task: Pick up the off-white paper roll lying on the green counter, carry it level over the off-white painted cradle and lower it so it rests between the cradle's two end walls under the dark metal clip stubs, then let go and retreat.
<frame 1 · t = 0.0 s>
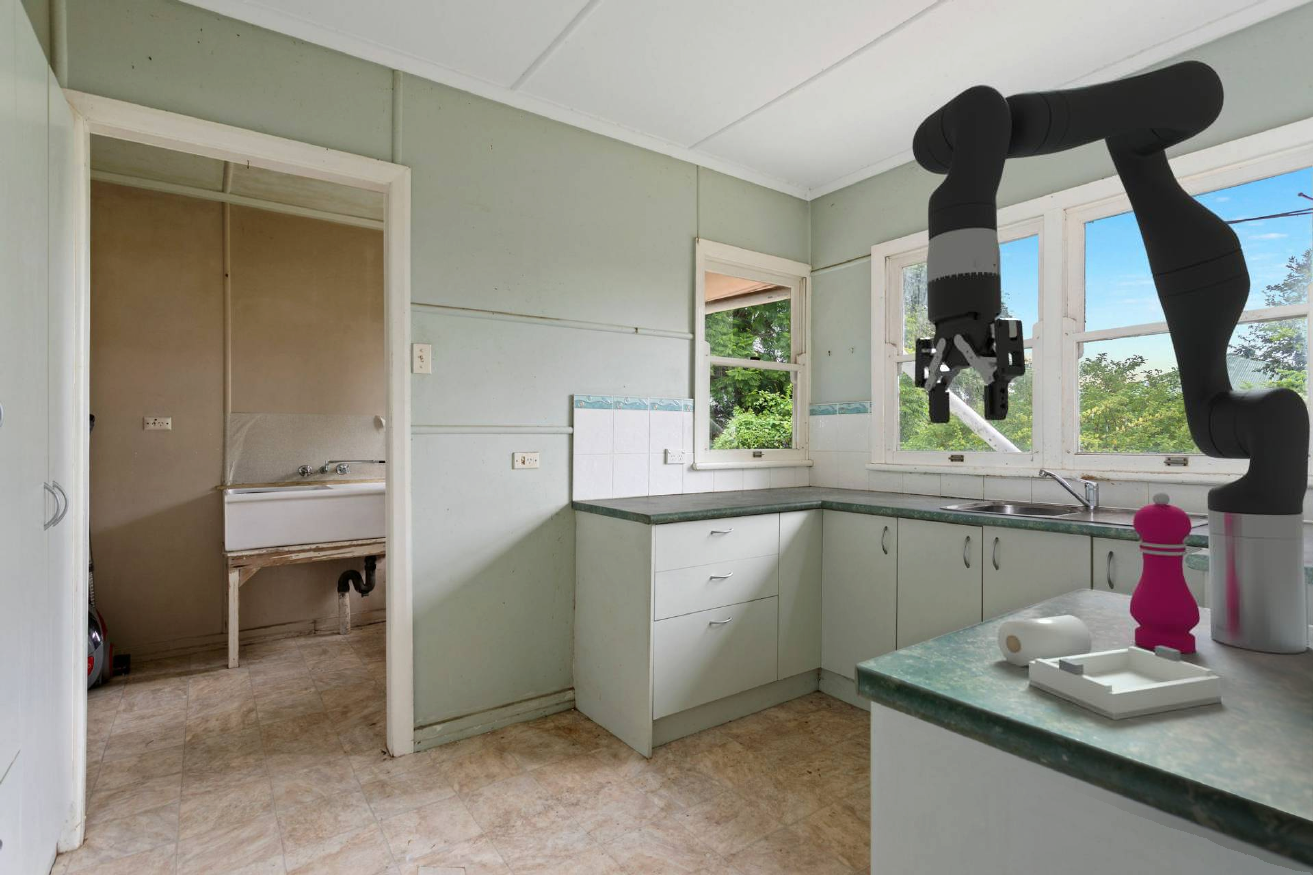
hand: (966, 421, 74), 29 cm above the counter, fingers open, 8 cm apart
holder: (1121, 692, 70), on the counter
pepper mill: (1164, 647, 85), on the counter
paper roll: (1044, 661, 81), on the counter
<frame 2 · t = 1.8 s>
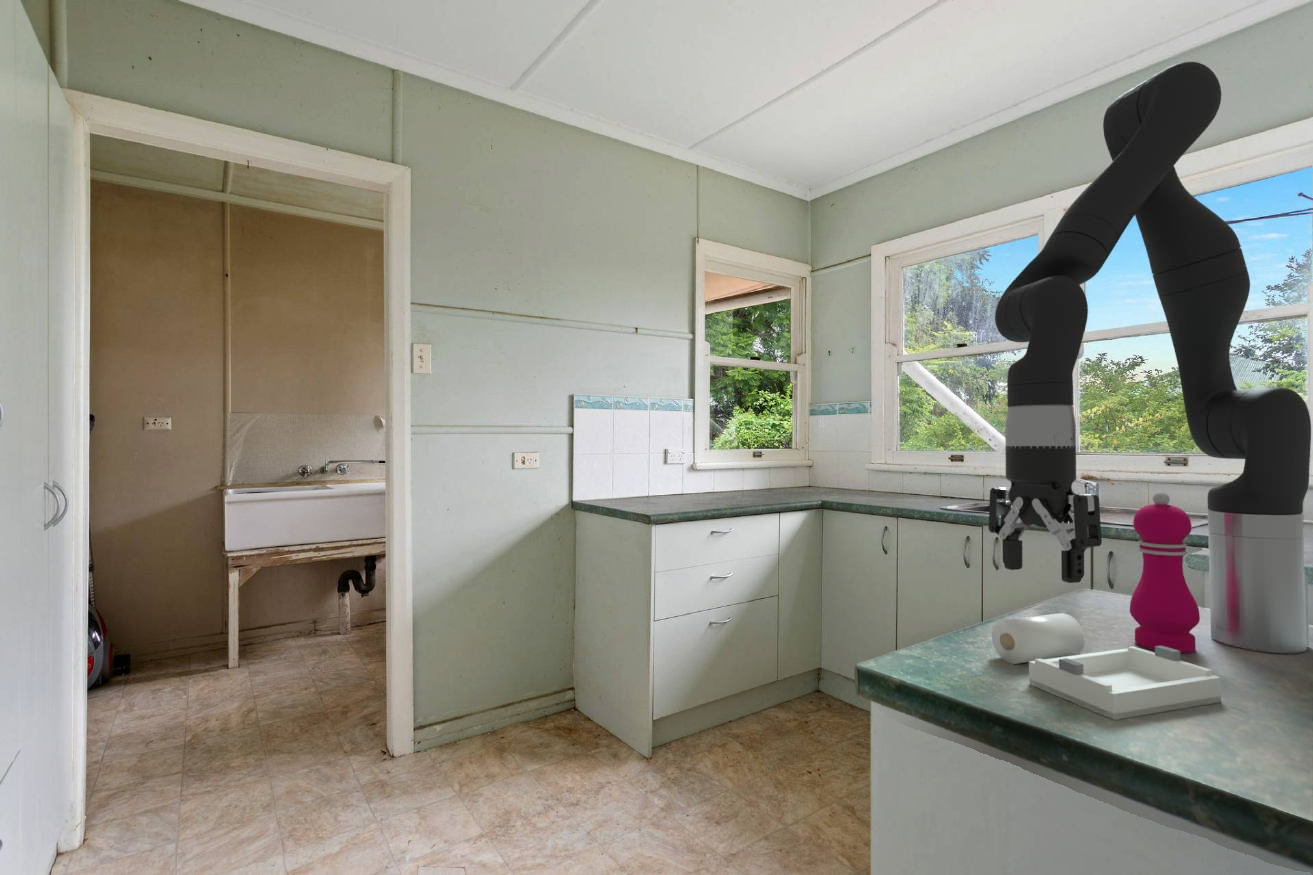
hand: (1040, 575, 81), 10 cm above the counter, fingers open, 8 cm apart
paper roll: (1044, 659, 81), on the counter, tilted 21°
everything else where it was.
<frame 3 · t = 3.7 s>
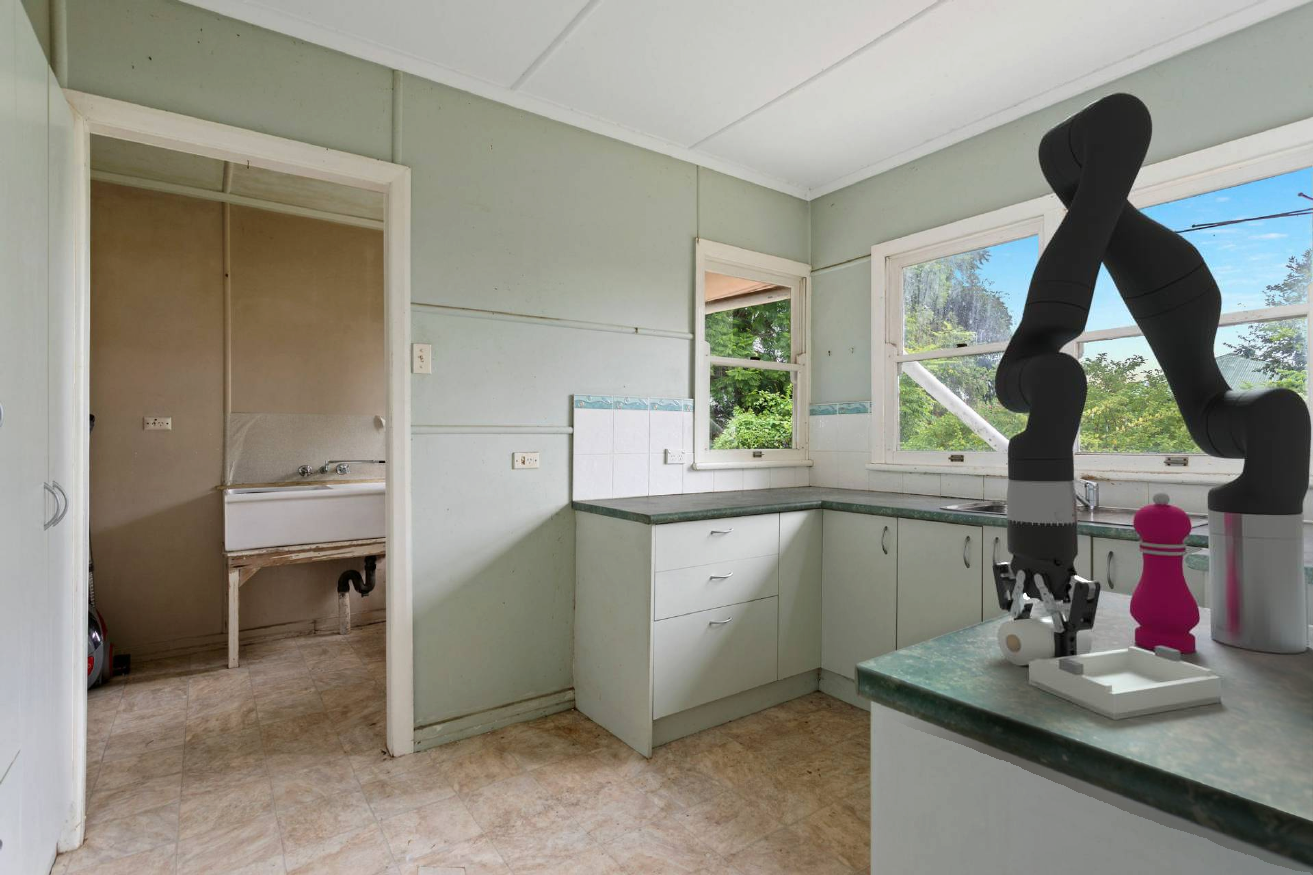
hand: (1044, 654, 81), 1 cm above the counter, fingers closed on paper roll, 5 cm apart
paper roll: (1044, 660, 81), on the counter, touching gripper
everything else where it was.
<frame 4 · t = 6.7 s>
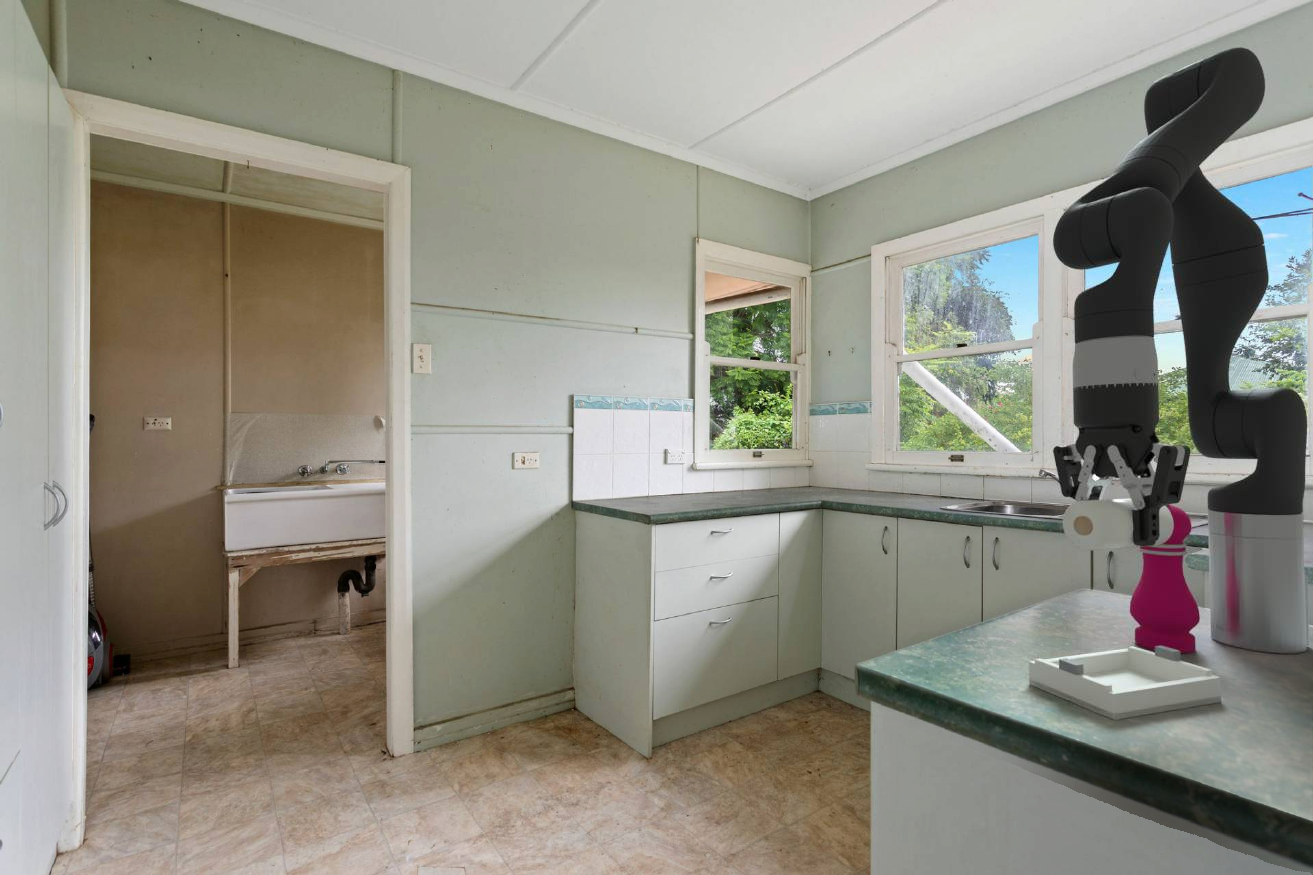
hand: (1117, 540, 70), 16 cm above the counter, fingers closed on paper roll, 5 cm apart
paper roll: (1118, 548, 70), point 15 cm above the counter, touching gripper
everything else where it was.
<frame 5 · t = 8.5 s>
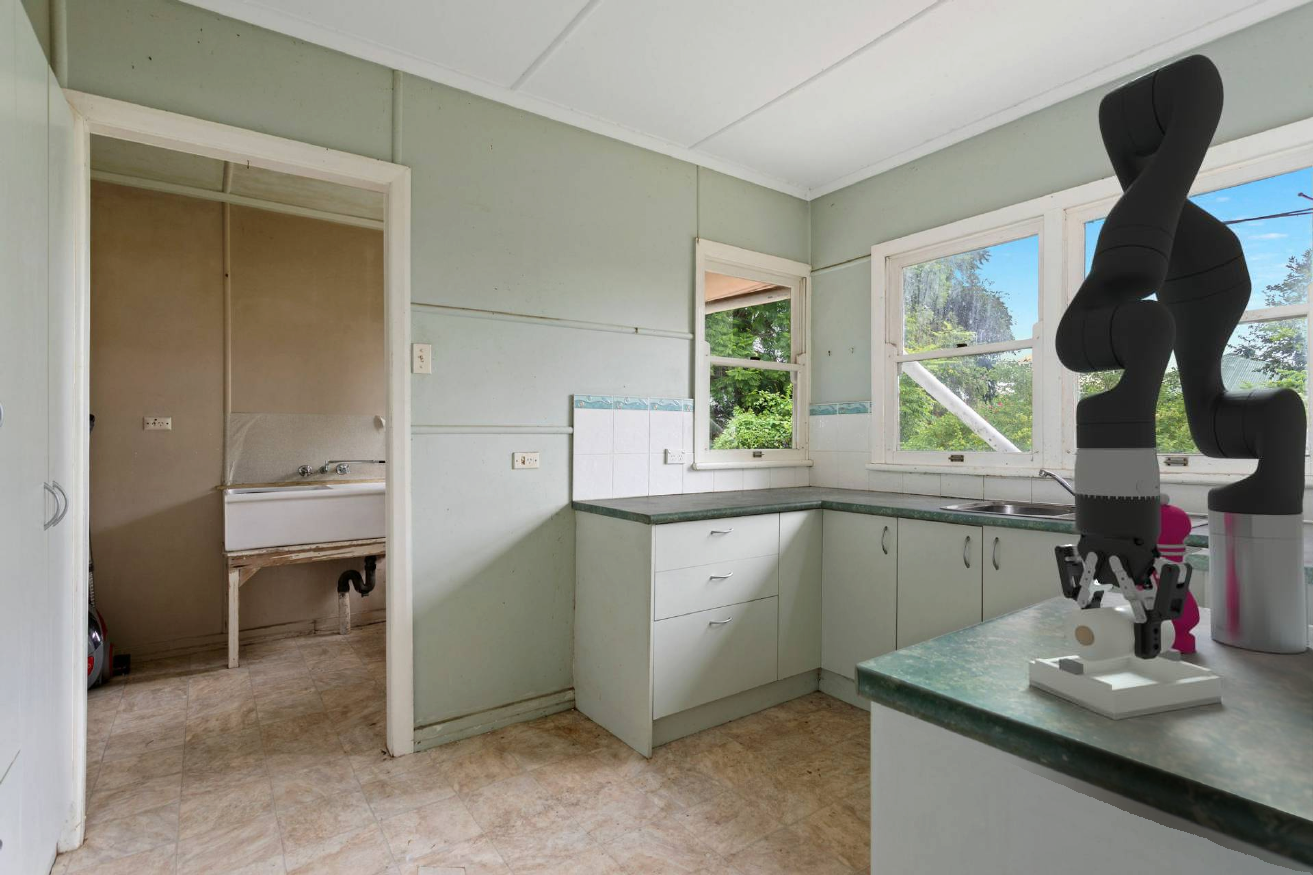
hand: (1119, 649, 70), 5 cm above the counter, fingers closed on paper roll, 5 cm apart
paper roll: (1119, 656, 70), point 4 cm above the counter, touching gripper
everything else where it was.
when the fingers open (3 cm above the counter, at t = 9.8 s): paper roll drops 2 cm, resting on holder.
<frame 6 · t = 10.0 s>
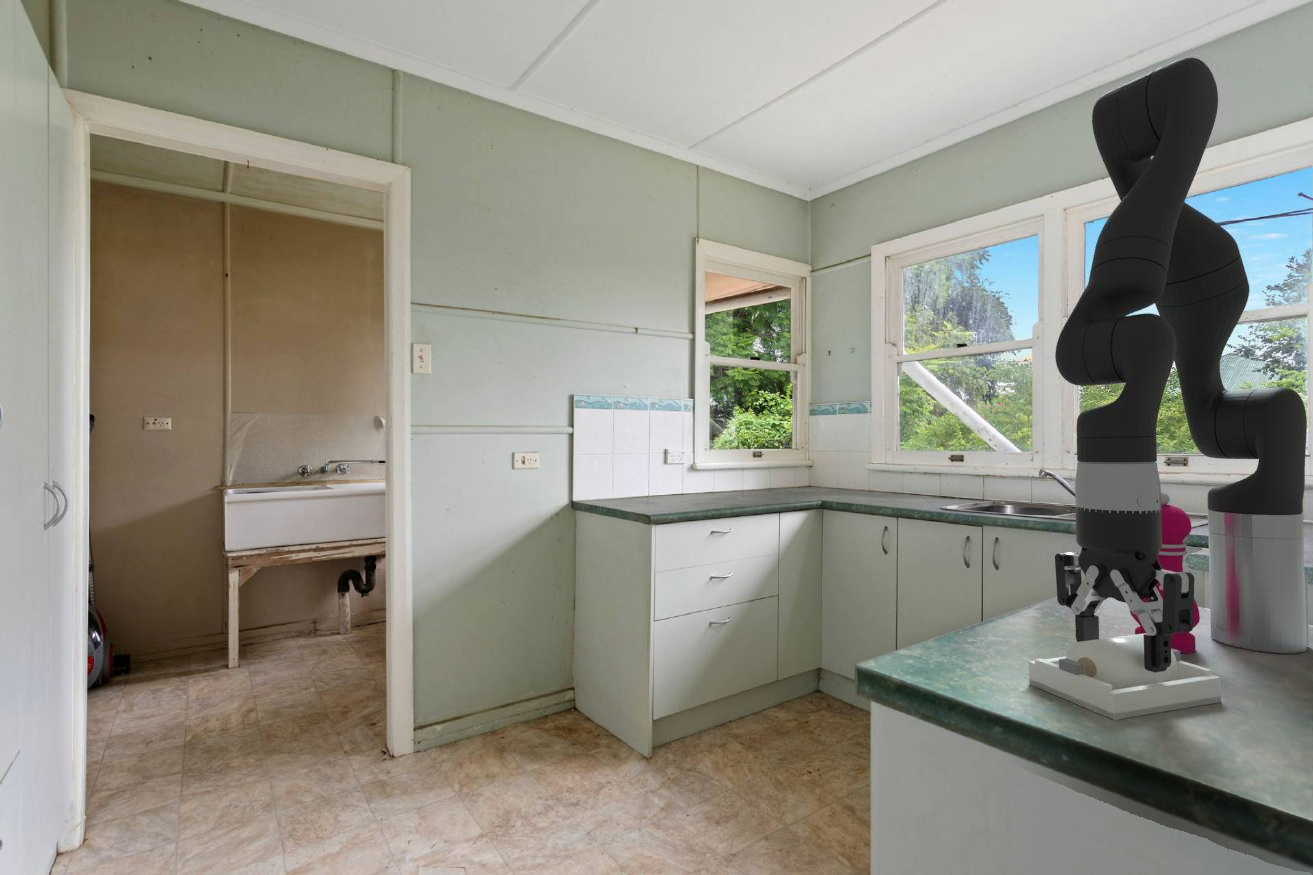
hand: (1120, 658, 70), 4 cm above the counter, fingers open, 7 cm apart
paper roll: (1121, 687, 70), point 1 cm above the counter, touching holder
everything else where it was.
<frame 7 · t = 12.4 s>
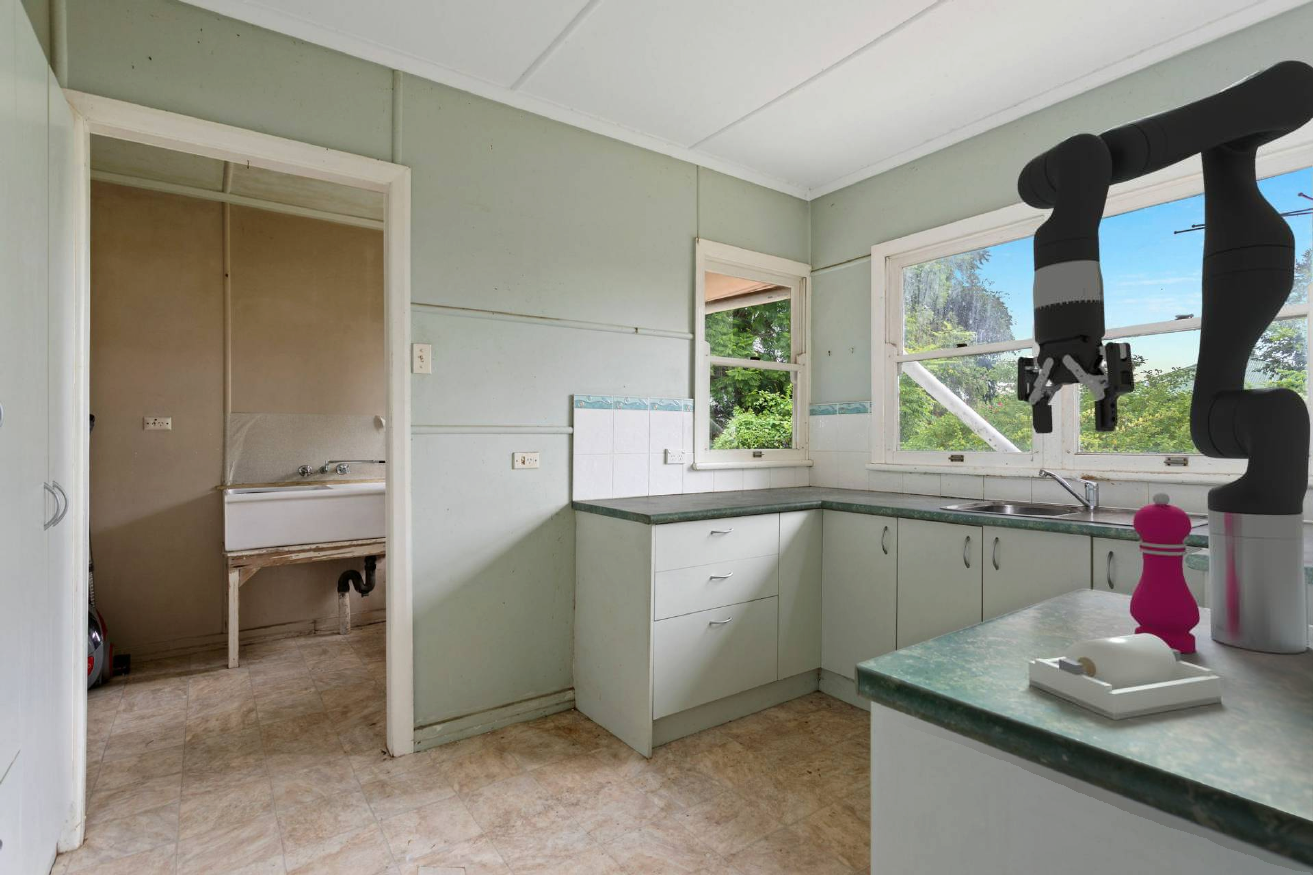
hand: (1072, 432, 82), 28 cm above the counter, fingers open, 8 cm apart
nothing on the counter moved.
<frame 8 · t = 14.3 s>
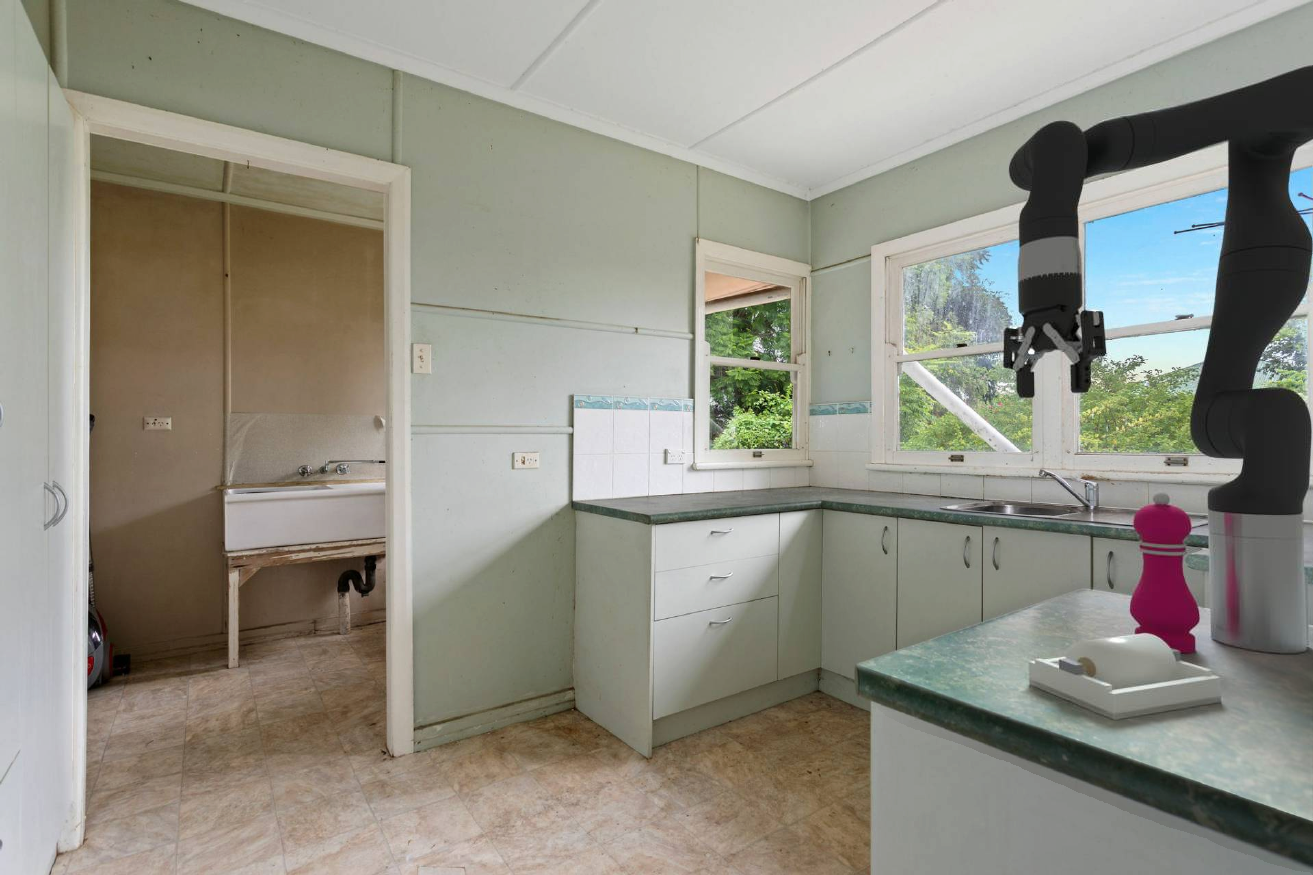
hand: (1051, 395, 90), 33 cm above the counter, fingers open, 8 cm apart
nothing on the counter moved.
at the end: paper roll inside the target area on the holder (0.1 cm from its centre), point 0.6 cm above the holder's base; the gripper is holding nothing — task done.
